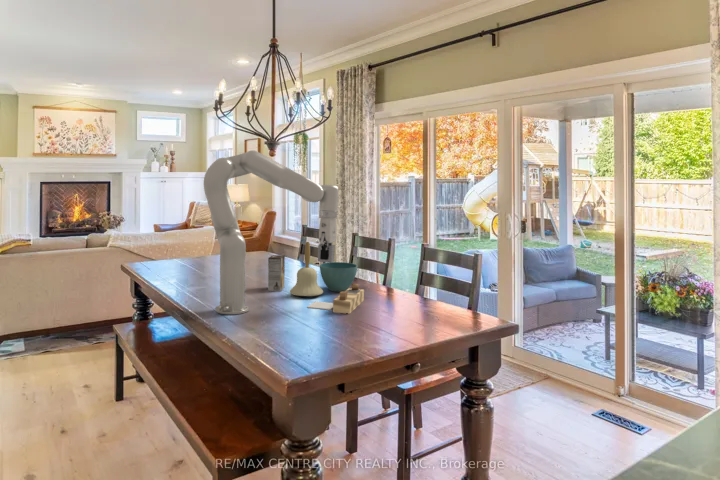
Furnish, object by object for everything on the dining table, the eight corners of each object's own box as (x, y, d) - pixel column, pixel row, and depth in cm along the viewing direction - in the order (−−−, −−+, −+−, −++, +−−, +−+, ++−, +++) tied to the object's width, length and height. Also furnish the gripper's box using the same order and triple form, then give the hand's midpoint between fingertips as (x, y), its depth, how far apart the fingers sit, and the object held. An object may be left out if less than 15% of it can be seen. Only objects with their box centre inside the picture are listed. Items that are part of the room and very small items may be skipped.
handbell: (324, 292, 231) (325, 240, 229) (322, 299, 216) (323, 244, 213) (291, 291, 231) (292, 239, 228) (287, 298, 216) (288, 243, 213)
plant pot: (352, 295, 227) (352, 269, 226) (314, 292, 231) (315, 266, 229) (359, 287, 245) (360, 263, 243) (324, 284, 248) (325, 261, 247)
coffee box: (271, 287, 239) (272, 254, 237) (284, 287, 239) (285, 255, 237) (267, 291, 230) (268, 257, 228) (281, 291, 230) (281, 258, 228)
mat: (330, 309, 199) (330, 309, 199) (307, 307, 201) (307, 306, 201) (337, 304, 209) (337, 303, 209) (315, 302, 211) (315, 301, 211)
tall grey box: (331, 262, 200) (332, 245, 200) (317, 261, 202) (318, 244, 201) (334, 261, 204) (335, 244, 203) (320, 260, 206) (321, 243, 205)
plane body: (349, 313, 194) (350, 294, 193) (332, 312, 196) (333, 292, 195) (363, 300, 217) (364, 282, 216) (348, 299, 219) (349, 281, 218)
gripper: (330, 216, 192) (328, 262, 194) (342, 214, 208) (340, 257, 210) (312, 215, 194) (310, 260, 196) (325, 213, 210) (323, 255, 212)
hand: (325, 258), depth 203 cm, fingers closed on tall grey box, 4 cm apart
